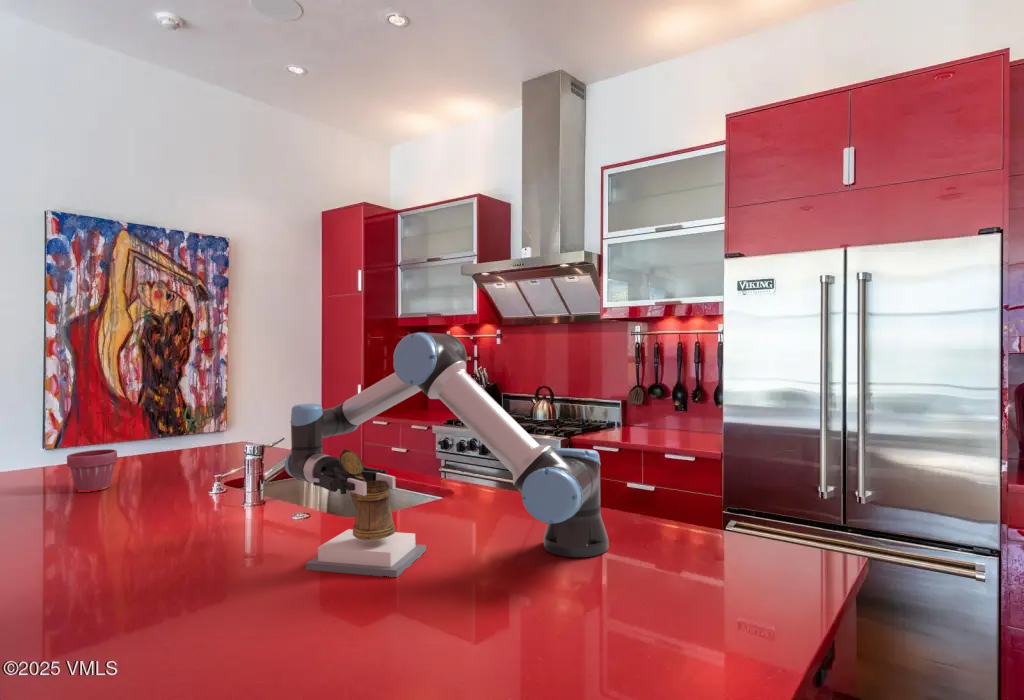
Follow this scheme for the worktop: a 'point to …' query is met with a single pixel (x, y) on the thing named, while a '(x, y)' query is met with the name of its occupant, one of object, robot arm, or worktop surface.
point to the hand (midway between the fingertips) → (379, 486)
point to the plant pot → (92, 468)
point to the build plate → (368, 568)
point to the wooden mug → (368, 502)
